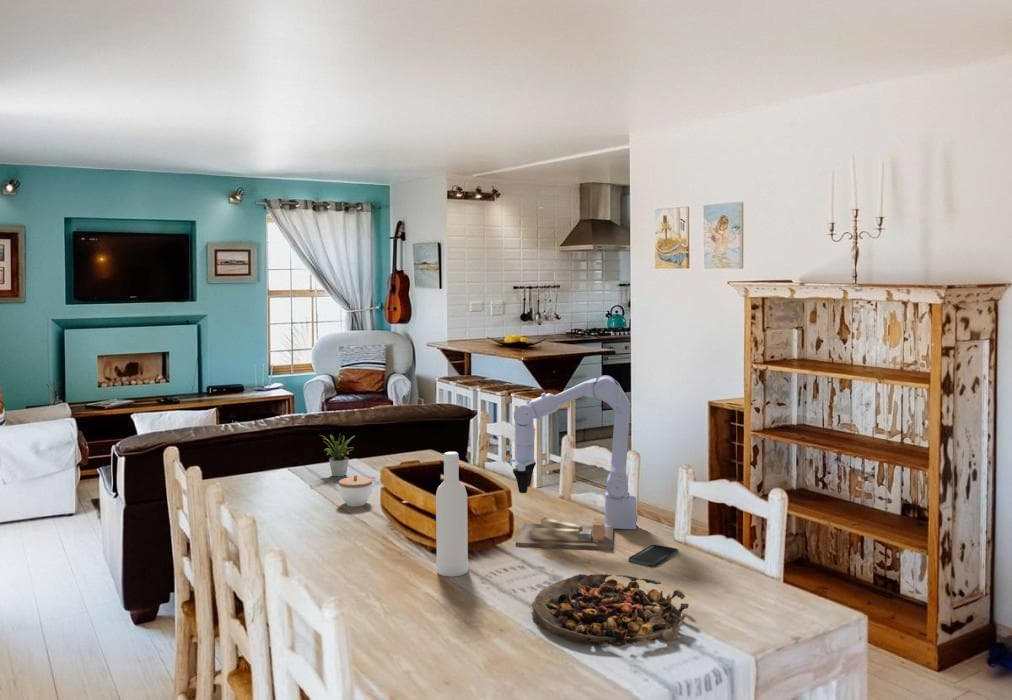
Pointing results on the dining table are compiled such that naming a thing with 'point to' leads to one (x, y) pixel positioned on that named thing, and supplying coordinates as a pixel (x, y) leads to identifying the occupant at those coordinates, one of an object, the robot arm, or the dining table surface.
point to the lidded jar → (355, 490)
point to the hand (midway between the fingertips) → (524, 489)
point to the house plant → (338, 456)
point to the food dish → (607, 611)
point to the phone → (653, 555)
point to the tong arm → (558, 524)
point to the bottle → (451, 521)
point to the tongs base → (564, 543)
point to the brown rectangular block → (598, 529)
